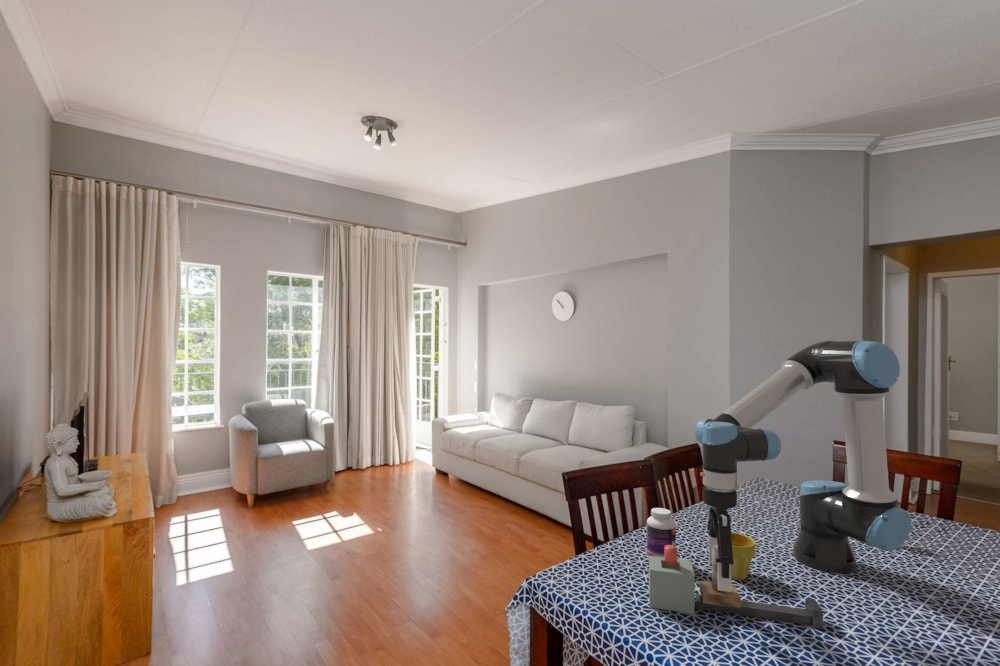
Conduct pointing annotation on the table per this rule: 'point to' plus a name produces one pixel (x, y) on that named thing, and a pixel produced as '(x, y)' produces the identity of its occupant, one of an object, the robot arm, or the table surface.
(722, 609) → the rail
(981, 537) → the table surface
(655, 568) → the switch box
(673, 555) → the plunger
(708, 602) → the carriage
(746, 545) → the plant pot
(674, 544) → the pill bottle
